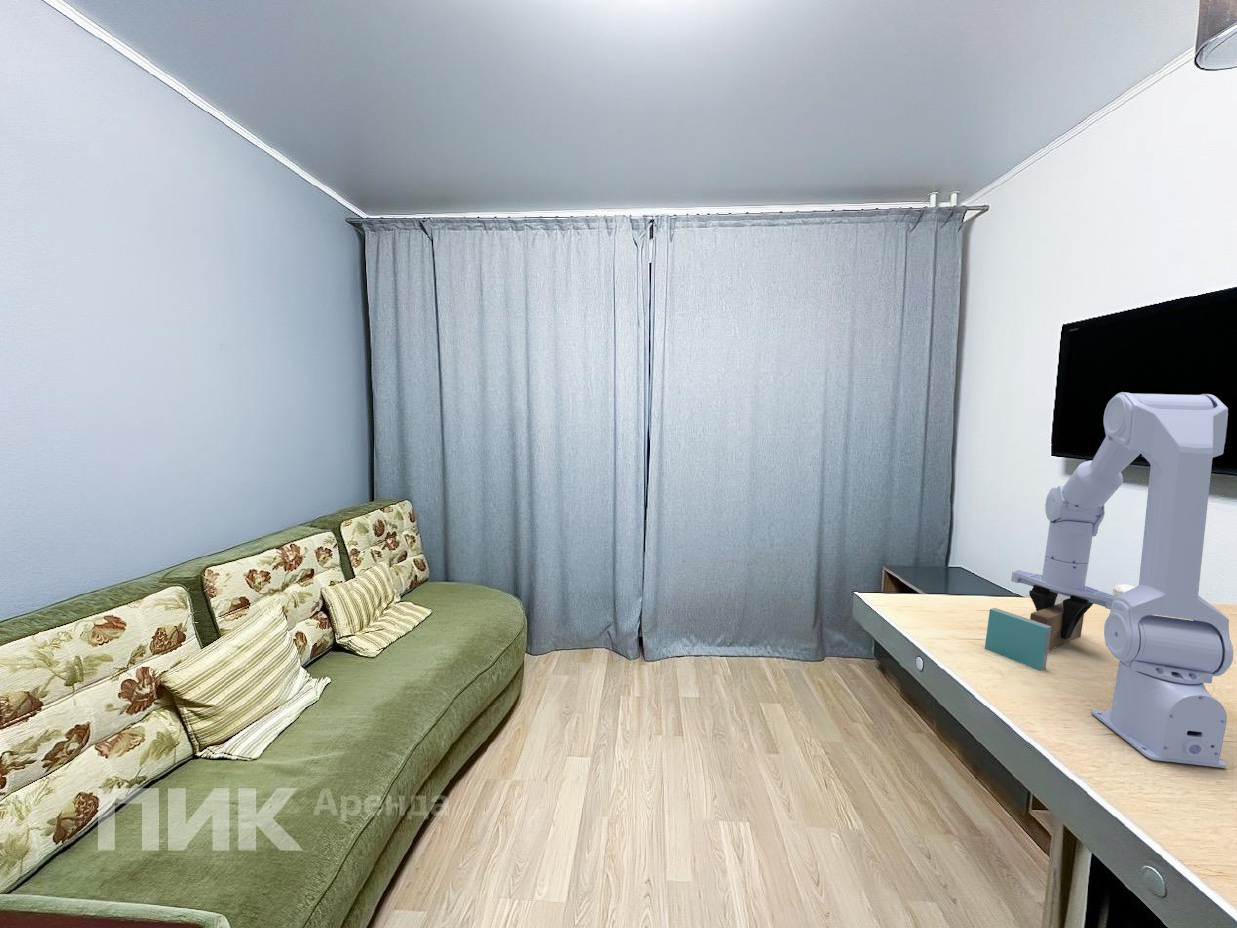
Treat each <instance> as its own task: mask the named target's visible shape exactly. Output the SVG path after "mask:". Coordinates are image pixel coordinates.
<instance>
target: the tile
mask: <svg viewBox="0 0 1237 928" xmlns="http://www.w3.org/2000/svg"><path fill="white" fill-rule="evenodd" d="M987 622H988V623H987V626H986V627H987V628H986V629H987V630H986V637H985V641H984V642H985V643H984V644H985V645H984V650H986V651H990V652H992V653H995V654H996V655H997V654H998V655H999V656H1002V657H1005V658H1008V659H1009V660H1013V661H1014V662H1017V663H1020V664H1022V665H1025V666H1027V667H1030V668H1032V669H1035V670H1037V671H1039V672H1042V671H1043V670H1046V667H1047V662H1048V653H1049V650H1048V649H1049V642H1050V635H1051V629H1052V626H1049V625H1046V624H1043V623H1040V622H1037V621H1034V620H1031V619H1030V618H1027V617H1025V616H1024V617H1023V616H1021V615H1018V614H1015V613H1012V612H1009V611H1006V610H1004V609H1000V608H997V607H993V608H990V609H989V614H988V621H987Z"/></svg>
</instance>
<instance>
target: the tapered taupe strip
mask: <svg viewBox="0 0 1237 928" xmlns="http://www.w3.org/2000/svg"><path fill="white" fill-rule="evenodd" d="M1084 618H1085V614H1084V615H1083V616H1082V617H1081V619H1080V620H1079V621H1078V623H1077V625H1076V626H1075V628H1074V630H1073V632H1072V635H1071V637H1070V638H1068V639H1063V638H1061V629H1062V624H1063V603H1060V604H1057V605H1054V606H1051V607H1048V608H1045V609H1042V610H1039V611H1033V612H1031V613H1030V617H1029V619H1031V620H1034V621H1037V622H1040V623H1043V624H1046V625H1049V626H1052V629H1051V635H1050V642H1049V649H1048V651H1051V650H1053V649H1056V648H1058V647H1060V646H1062V645H1065V644H1067V643H1069V642H1072V641H1074V640H1077V639H1079V638H1081V637H1082V631H1083V624H1084Z"/></svg>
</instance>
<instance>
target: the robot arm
mask: <svg viewBox="0 0 1237 928" xmlns="http://www.w3.org/2000/svg"><path fill="white" fill-rule="evenodd" d="M1228 411H1229V408H1228V407H1227V406H1226V405H1225V404H1224V403H1223V402H1222V401H1221V400H1220V399H1219V398H1218V397H1217V396H1215V395H1213V394H1210V393H1202V394H1173V393H1172V394H1165V393H1130V392H1124V391H1121V392H1118V393H1116V394H1115V395H1114V396H1112V397H1111V399H1110V400H1109V401H1108V403H1107V404H1106V407H1105V409H1104V414H1103V427H1104V433H1105V437H1104V439H1103V441H1102V443H1101V445H1100V446H1099V448H1098V450H1097V452H1096V453H1095V455H1094V456H1093V459H1092V460H1088V461H1083V462H1081V463H1080V464H1078V466H1077V468H1076V469H1075V470H1074V471H1073V473H1072V474H1071V476H1070V477H1069V478H1068V480H1067V481H1066V483H1065V484H1064V485H1059V486H1057V487H1052V488H1050V490H1049V491H1048V493H1047V495H1046V498H1045V504H1044V506H1045V510H1044V511H1045V515H1046V518H1047V519H1048V521H1049V525H1048V531H1047V533H1048V534H1047V541H1046V547H1045V555H1044V562H1043V568H1042V574H1037V573H1032V572H1028V571H1024V570H1023V571H1022V570H1019V569H1017V570H1013V571H1012V573H1011V579H1010V580H1011V582H1012V583H1016V584H1024V585H1027V586H1031V587H1032V588H1031V590H1029V591H1028V594H1029V597H1030V598H1031V600H1032V603H1033V606H1034V607H1035V610H1036V611H1039V610H1042V609H1045V608H1048V607H1051V606H1054V605H1055V601H1056V598H1057V595H1058V594H1062V595H1065V596H1069V597H1070V599H1065V600H1063V624H1062V629H1061V638H1063V639H1068V638H1070V637H1071V635H1072V632H1073V630H1074V628H1075V626H1076V625H1077V623H1078V621H1079V620H1080V619H1081V617H1082V616H1083V615H1084V616H1085V614H1086V612H1087V611H1089V609H1091V607H1092V606H1093V605H1097V606H1100V607H1105V609H1108V610H1110V611H1109V614H1108V616H1107V617H1106V619H1105V623H1104V629H1103V636H1104V642H1105V645H1106V647H1107V650H1108V651H1109V652H1110V653H1111V655H1112V656H1113V657H1114V658H1115V659H1116V660H1117V661H1119V662H1118V667H1117V674H1116V679H1115V686H1114V690H1113V691H1114V692H1113V697H1112V703H1111V704H1112V705H1111V709H1110V710H1099V709H1091V714H1092V715H1093V716H1094V717H1096V718H1097V719H1098V720H1099V721H1101V722H1102V723H1104V725H1105V726H1107V727H1109V729H1111V730H1112V731H1113V732H1114V733H1116V734H1117V735H1119V736H1120V737H1121V738H1122V739H1124V741H1126V742H1127V743H1129V744H1130V745H1131V746H1132V747H1134V749H1136V750H1137V751H1139V752H1140V753H1141V754H1143V756H1145V757H1146V758H1148V759H1150V760H1152V761H1160V762H1168V763H1170V762H1171V763H1178V764H1187V765H1196V766H1202V767H1203V766H1205V767H1212V768H1222V769H1226V768H1227V766H1228V765H1227V763H1226V762H1225V761H1223V760H1221V759H1220V757H1221V754H1222V753H1221V752H1222V748H1223V743H1224V737H1225V732H1226V726H1227V721H1228V720H1227V719H1228V717H1227V716H1228V714H1227V711H1226V709H1225V707H1224V706H1223V705H1222V703H1221V702H1220V701H1218V699H1216V698H1215V697H1214V696H1212V694H1211V693H1209V691H1208V690H1207V688H1206V685H1205V684H1212V683H1213V678H1214V677H1219V676H1222V675H1223V674H1225V673H1226V672H1227V671H1228V669H1230V668H1231V666H1232V663H1233V659H1234V646H1233V644H1232V640H1231V638H1230V626H1229V625H1230V623H1229V622H1230V619H1229V618H1228V617H1227V616H1226V615H1225V614H1223V612H1221V611H1220V610H1219V609H1218V608H1216V607H1215V606H1214V605H1212V604H1211V603H1209V602H1208V601H1206V600H1205V599H1203V598H1202V597H1201V596H1200V595H1199V592H1200V591H1199V590H1200V581H1201V571H1202V564H1203V563H1202V562H1203V561H1202V560H1203V554H1204V553H1203V552H1204V543H1205V531H1206V523H1207V513H1208V504H1209V497H1210V495H1209V494H1210V486H1211V485H1210V484H1211V483H1210V482H1211V475H1212V465H1213V458H1216V457H1219V456H1222V455H1223V454H1224V452H1225V451H1224V449H1225V444H1226V439H1227V430H1228V429H1227V428H1228V416H1229V412H1228ZM1140 454H1141V455H1142V457H1144V459H1145V460H1146V461H1147V463H1149V465H1150V468H1149V477H1148V479H1149V481H1148V489H1147V499H1146V508H1145V509H1146V510H1145V520H1144V529H1143V539H1142V548H1141V560H1140V569H1139V578H1138V579H1139V580H1138V585H1137V586H1136V587H1135V588H1133V589H1131V590H1129V591H1127V592H1124V593H1122V594H1120V595H1118V596H1114V595H1113V594H1109V593H1106V592H1105V591H1102V590H1099V589H1096V588H1093V587H1089V586H1086V583H1087V582H1086V581H1087V576H1088V568H1089V563H1090V556H1091V555H1090V554H1091V551H1092V550H1091V548H1092V542H1093V537H1097V535H1098V532H1099V527H1100V525H1101V524H1102V522H1103V520H1104V517H1105V513H1106V512H1105V504H1107V502H1108V501H1109V500H1110V498H1111V497H1113V495H1114V494H1115V493H1116V491H1117V490H1118V489H1119V488H1120V487H1121V486H1122V484H1123V482H1124V477H1123V474H1122V472H1123V471H1124V469H1126V468H1127V467H1128V466H1129V465H1130V464H1132V462H1133V461H1134V460H1135V459H1136V458H1138V457H1139V456H1140ZM1036 611H1035V612H1036Z"/></svg>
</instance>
